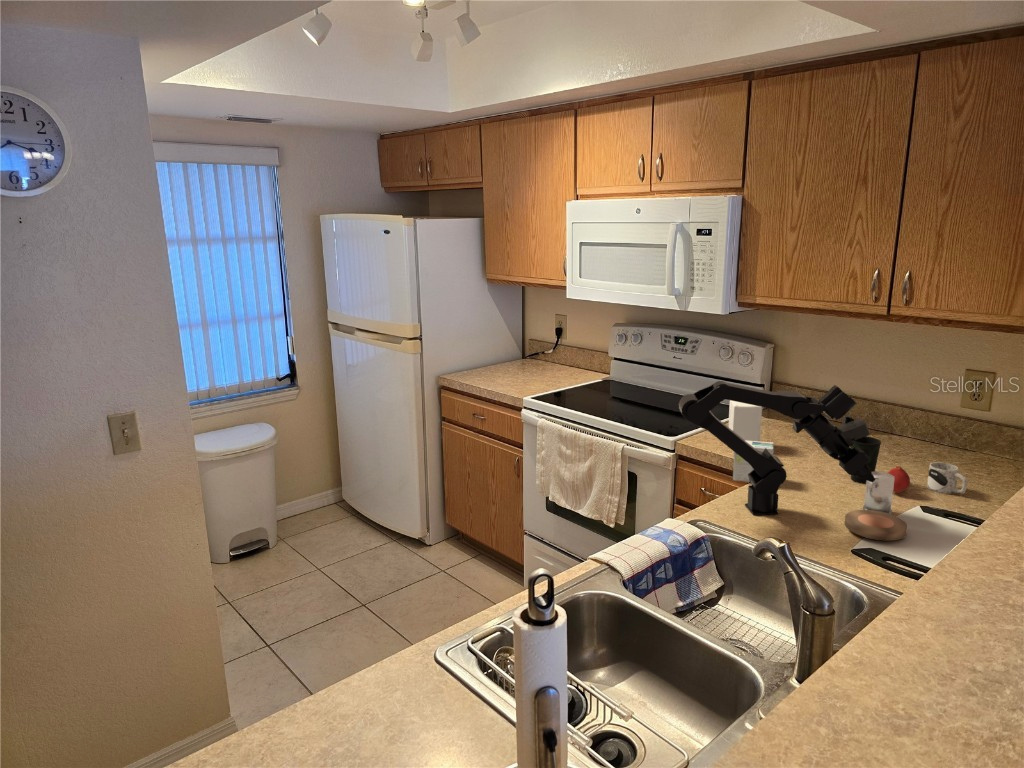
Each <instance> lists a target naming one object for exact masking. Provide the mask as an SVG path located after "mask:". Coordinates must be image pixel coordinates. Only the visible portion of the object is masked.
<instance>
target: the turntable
mask: <svg viewBox="0 0 1024 768" xmlns="http://www.w3.org/2000/svg"><path fill="white" fill-rule="evenodd" d="M844 526H845V528H846V529H847V530H849V531H850V532H852V533H853V534H856V535H858V536H860V537H864V538H866V537H867V538H866V539H869V538H871V539H870V540H874V539H877V540H876V541H898V540H901V539H904V538H905V537H907V532H908V523H907V522H906V521H905V520H903V519H902V518H900V517H899V516H897V515H894V514H892V515H891V514H888V513H885V512H880V511H874V510H863V509H857V510H856V509H855V510H851V511H848V512H846V514H845V516H844Z"/></svg>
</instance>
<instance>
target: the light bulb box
mask: <svg viewBox="0 0 1024 768" xmlns="http://www.w3.org/2000/svg"><path fill="white" fill-rule="evenodd" d="M745 441H746V442H747V443H749V444H750V445H751V446H752V447H754V448H755V449H756V450H759V451H761V452H763V451H764V450H765V448H766V449H767V450H768V451H769V452H770V453H771V454H772V455H774V453H775V452H774V447H775V446H774V445H775V444H774V442H773V441H772V442H771V441H761V440H760V441H747V440H745ZM732 465H733V468H732V481H738V482H747V483H751V482H750V480H749V477H748V474H749V473H750V472H751V471H752V470H754V469H753V468H752V466H751V465H750V464H749V463H748V462H746V461H745V460H744V459H743V458H741V457H740V456H739V455H738V454H736V453H735V452H734V451H733V464H732Z"/></svg>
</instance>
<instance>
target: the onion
mask: <svg viewBox="0 0 1024 768" xmlns="http://www.w3.org/2000/svg"><path fill="white" fill-rule="evenodd" d="M887 473H889V474H891V475H893V476H894V477H895V478H894V488H893V494H899V493H902V492H904V491H905V490H907V489H908V488H909V486H910V483H911V478H910V475H909V474H908V473H907V472H906V470H905V469H903V467H902V466H901V465H900V464H898V465H896V466H895V467H894V468H892V469H890V470H889V471H888V472H887Z"/></svg>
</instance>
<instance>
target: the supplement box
mask: <svg viewBox="0 0 1024 768" xmlns="http://www.w3.org/2000/svg"><path fill="white" fill-rule="evenodd" d="M728 410H729V411H728V427H729V428H730V429H731V430H732V431H734V432H735V433H736V434H737V435H739V436H740V437H741V438H742V439H744V440H747V441H760V442H761V428H762V413H763V407H761V406H756V405H751V404H746V403H741V402H736V401H731V400H729V408H728Z"/></svg>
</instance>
